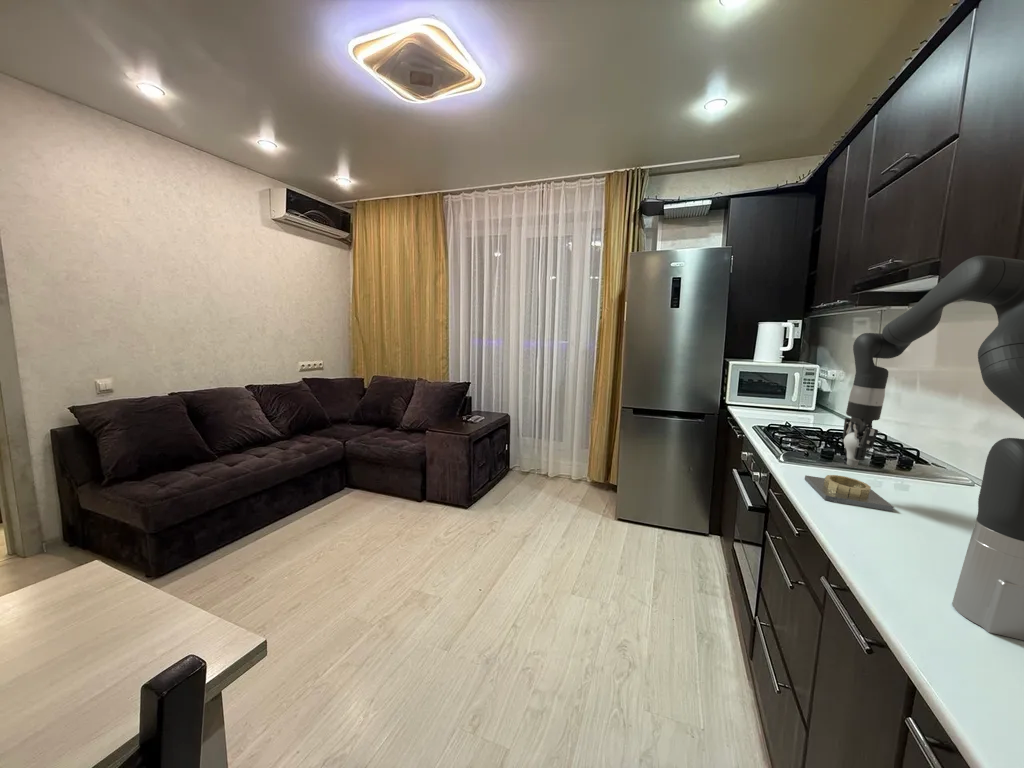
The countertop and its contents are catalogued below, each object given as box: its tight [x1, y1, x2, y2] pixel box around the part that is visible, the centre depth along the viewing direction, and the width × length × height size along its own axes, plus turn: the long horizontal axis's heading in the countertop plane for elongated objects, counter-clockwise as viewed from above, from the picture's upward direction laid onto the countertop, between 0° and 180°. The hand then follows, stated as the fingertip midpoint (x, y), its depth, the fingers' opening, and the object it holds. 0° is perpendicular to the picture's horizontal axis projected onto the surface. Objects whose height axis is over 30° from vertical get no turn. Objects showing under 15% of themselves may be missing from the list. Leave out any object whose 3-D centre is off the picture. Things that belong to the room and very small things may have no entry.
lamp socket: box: [803, 474, 895, 512], centre depth 119 cm, size 16×16×4 cm
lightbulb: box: [843, 432, 870, 468], centre depth 117 cm, size 6×6×11 cm
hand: (853, 456), depth 117 cm, fingers closed on lightbulb, 5 cm apart
